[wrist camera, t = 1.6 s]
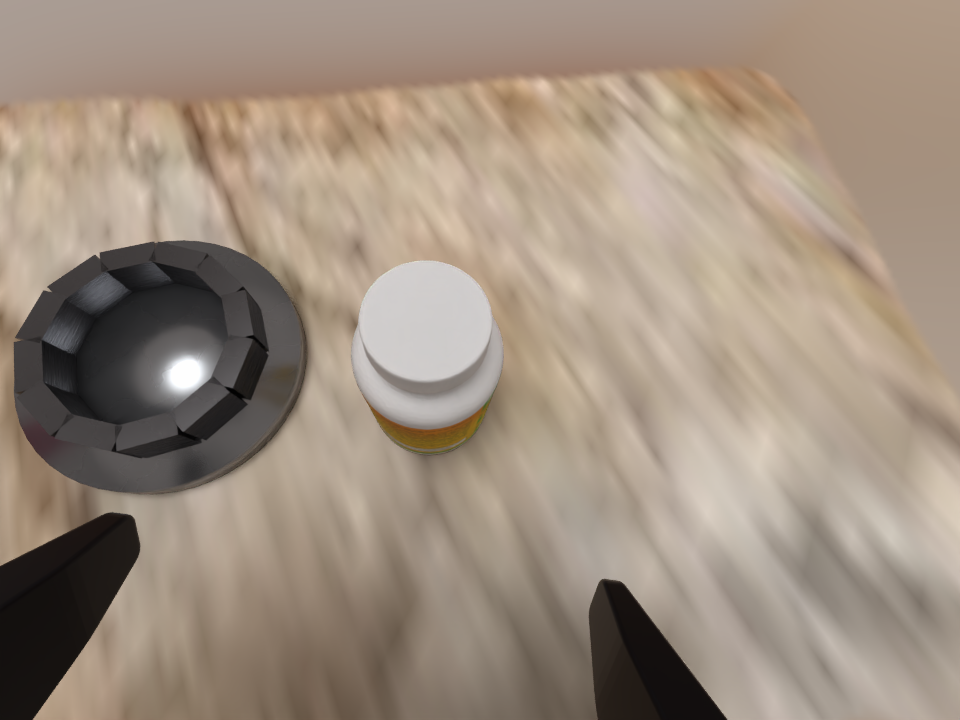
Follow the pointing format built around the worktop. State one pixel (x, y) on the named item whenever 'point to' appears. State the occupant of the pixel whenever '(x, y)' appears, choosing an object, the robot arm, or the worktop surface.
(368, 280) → the worktop surface
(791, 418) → the worktop surface
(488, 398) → the supplement bottle
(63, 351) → the collar holder
